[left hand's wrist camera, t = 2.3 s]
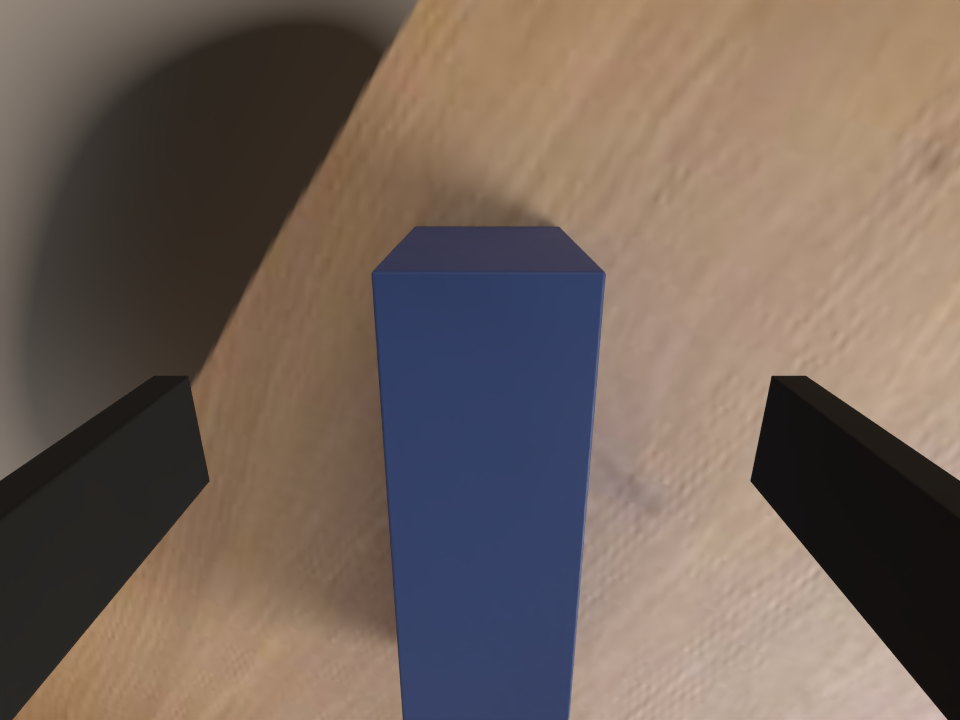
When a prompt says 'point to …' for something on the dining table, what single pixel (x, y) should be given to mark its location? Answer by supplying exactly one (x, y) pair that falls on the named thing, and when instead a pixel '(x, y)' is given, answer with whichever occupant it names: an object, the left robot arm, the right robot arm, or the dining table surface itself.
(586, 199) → the dining table surface
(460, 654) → the box
